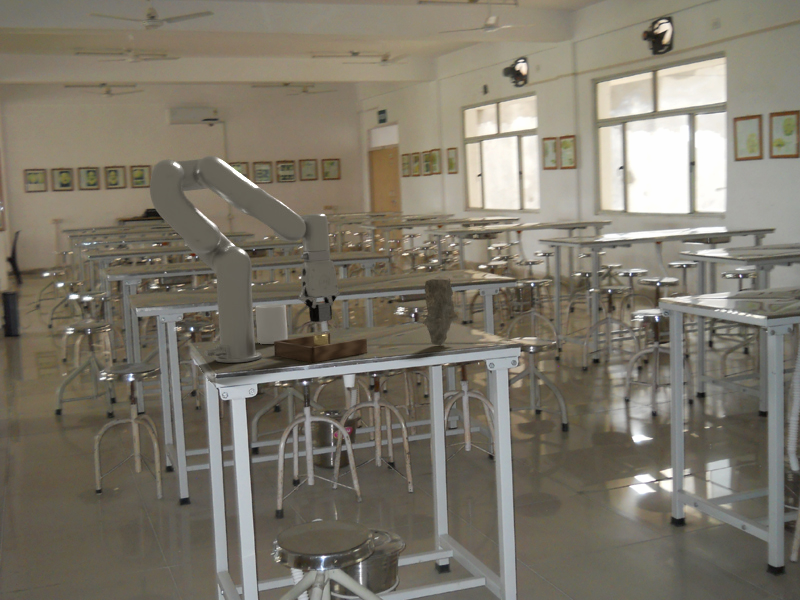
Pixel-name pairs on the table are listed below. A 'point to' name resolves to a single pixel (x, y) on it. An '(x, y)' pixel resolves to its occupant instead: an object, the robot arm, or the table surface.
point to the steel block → (323, 311)
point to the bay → (318, 349)
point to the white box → (271, 323)
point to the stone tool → (439, 309)
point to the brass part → (320, 339)
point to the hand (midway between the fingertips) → (321, 319)
